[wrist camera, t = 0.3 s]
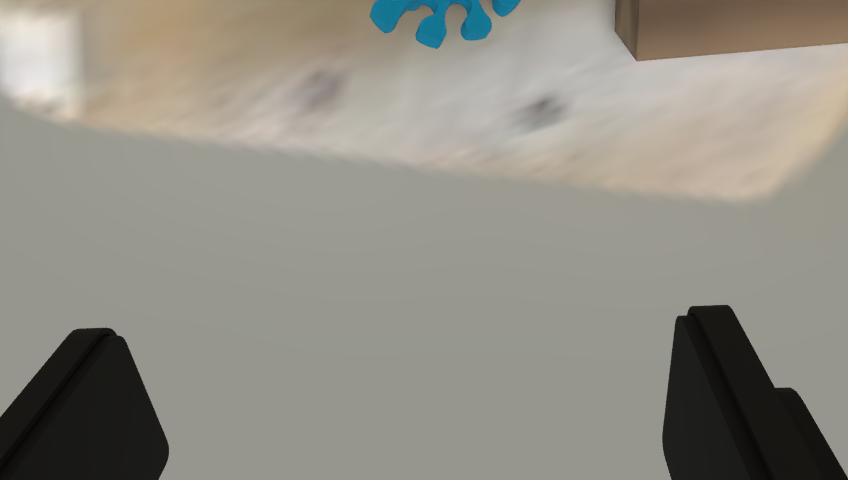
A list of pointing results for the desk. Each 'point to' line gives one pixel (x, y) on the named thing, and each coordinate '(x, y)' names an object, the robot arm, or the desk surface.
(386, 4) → the gear
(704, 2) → the hole block
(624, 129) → the desk surface
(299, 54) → the desk surface
